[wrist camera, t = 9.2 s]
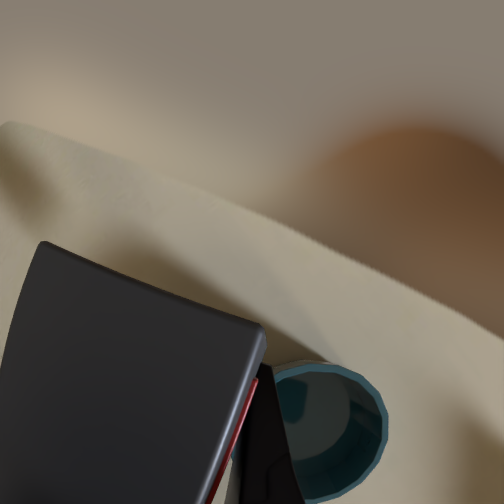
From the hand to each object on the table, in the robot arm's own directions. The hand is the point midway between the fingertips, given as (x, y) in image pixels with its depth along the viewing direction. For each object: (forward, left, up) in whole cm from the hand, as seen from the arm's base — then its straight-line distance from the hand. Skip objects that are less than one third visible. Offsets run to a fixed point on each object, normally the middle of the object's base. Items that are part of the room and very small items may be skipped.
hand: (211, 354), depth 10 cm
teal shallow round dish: (-1, -8, -13) cm, 15 cm away
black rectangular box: (-1, -1, -7) cm, 7 cm away
